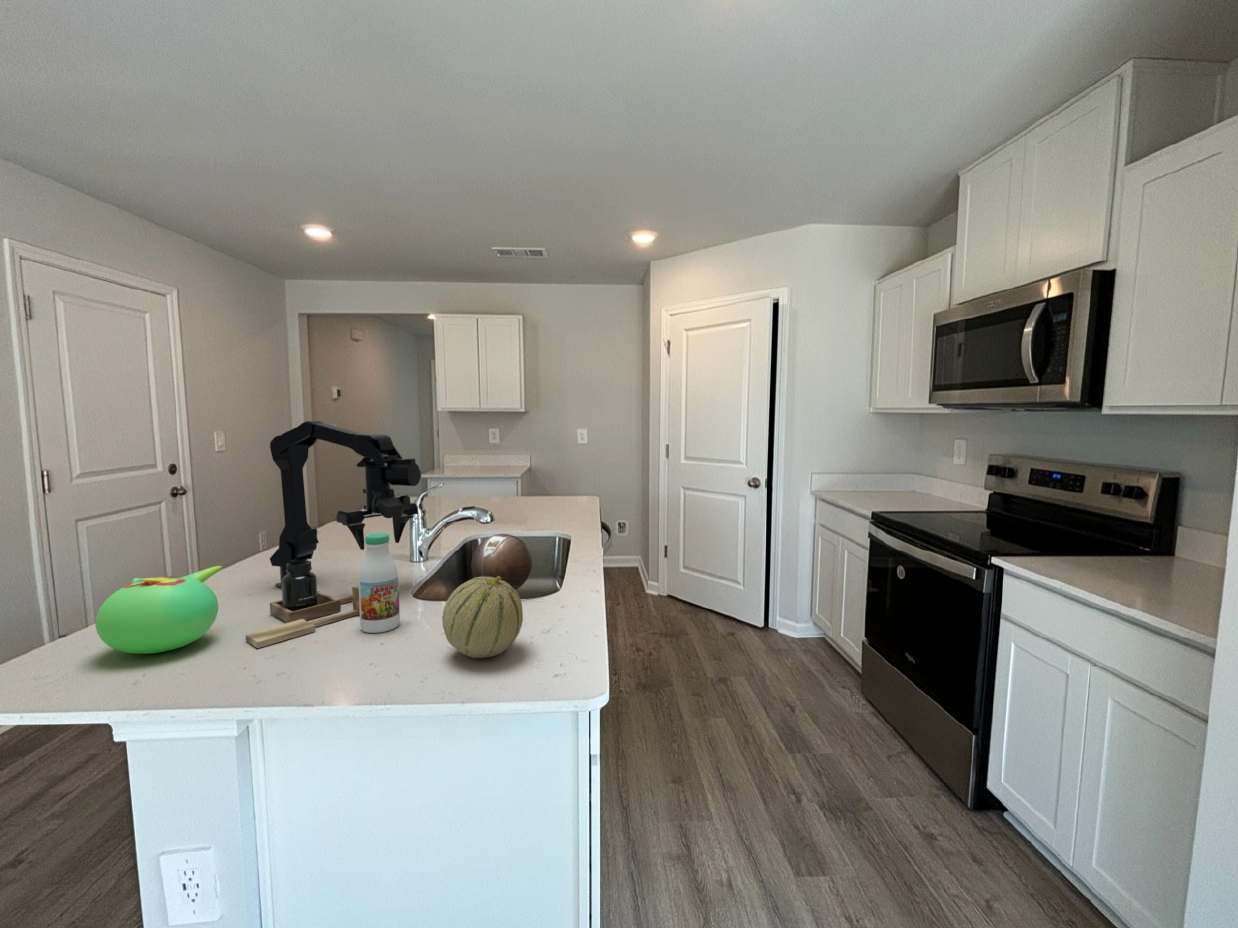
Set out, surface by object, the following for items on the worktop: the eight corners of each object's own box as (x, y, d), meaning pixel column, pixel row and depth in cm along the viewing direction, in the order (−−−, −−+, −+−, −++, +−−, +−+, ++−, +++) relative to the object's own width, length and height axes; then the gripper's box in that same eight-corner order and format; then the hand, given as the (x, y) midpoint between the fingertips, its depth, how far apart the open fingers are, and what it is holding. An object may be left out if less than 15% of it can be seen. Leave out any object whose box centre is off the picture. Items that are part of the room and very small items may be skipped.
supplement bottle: (306, 620, 119) (303, 567, 118) (276, 619, 119) (273, 566, 118) (324, 609, 126) (322, 558, 125) (295, 608, 126) (293, 558, 125)
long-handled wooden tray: (245, 640, 108) (243, 610, 107) (362, 607, 127) (361, 582, 126) (257, 648, 104) (255, 617, 104) (376, 612, 123) (375, 587, 123)
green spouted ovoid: (76, 673, 94) (69, 591, 93) (134, 635, 111) (128, 565, 109) (197, 661, 99) (192, 582, 98) (235, 626, 115) (231, 559, 114)
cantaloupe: (441, 644, 107) (439, 569, 106) (516, 633, 112) (515, 562, 111) (445, 677, 93) (443, 592, 92) (530, 664, 98) (529, 583, 97)
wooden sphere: (463, 601, 131) (462, 541, 130) (481, 582, 146) (480, 528, 145) (525, 603, 131) (524, 541, 129) (537, 583, 146) (536, 528, 144)
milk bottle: (352, 629, 114) (348, 536, 112) (383, 617, 121) (380, 529, 119) (377, 636, 110) (373, 540, 109) (407, 624, 117) (404, 533, 115)
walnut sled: (270, 613, 122) (268, 587, 122) (372, 587, 141) (371, 564, 141) (290, 624, 116) (289, 597, 115) (394, 595, 135) (393, 572, 134)
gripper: (357, 491, 124) (359, 558, 125) (429, 483, 138) (431, 544, 140) (334, 487, 130) (336, 551, 132) (405, 480, 145) (407, 538, 146)
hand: (380, 546), depth 137 cm, fingers open, 9 cm apart
